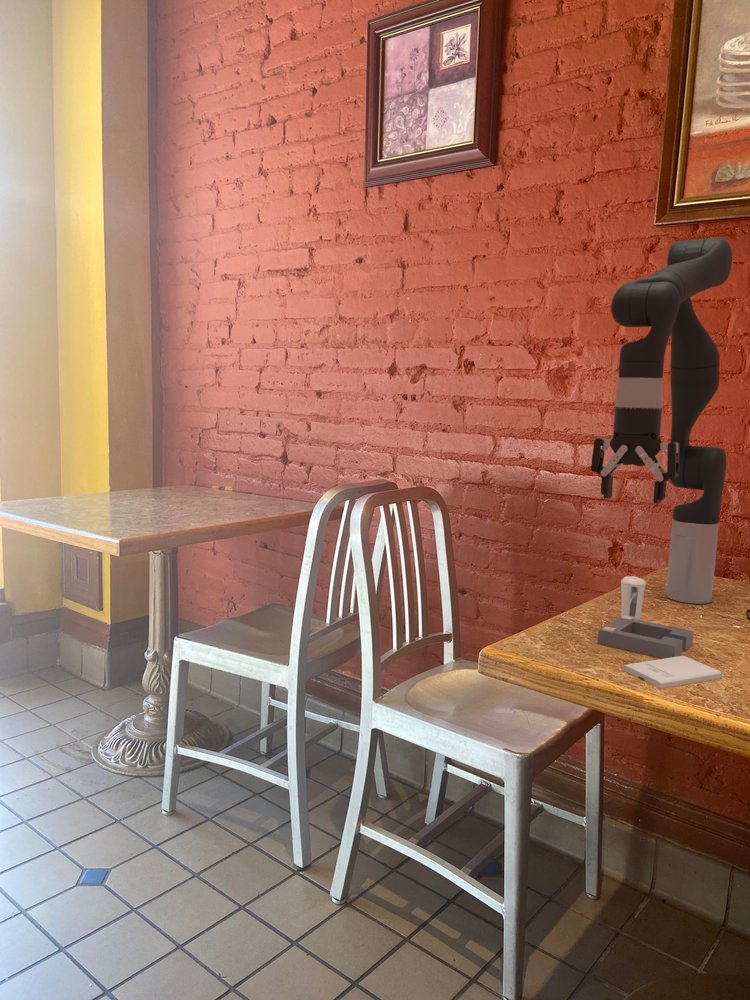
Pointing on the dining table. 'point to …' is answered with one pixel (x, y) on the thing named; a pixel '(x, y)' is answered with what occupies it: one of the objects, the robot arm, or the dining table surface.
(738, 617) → the dining table surface
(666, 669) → the external hard drive
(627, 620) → the frame
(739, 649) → the dining table surface
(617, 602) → the dining table surface
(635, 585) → the milkshake
